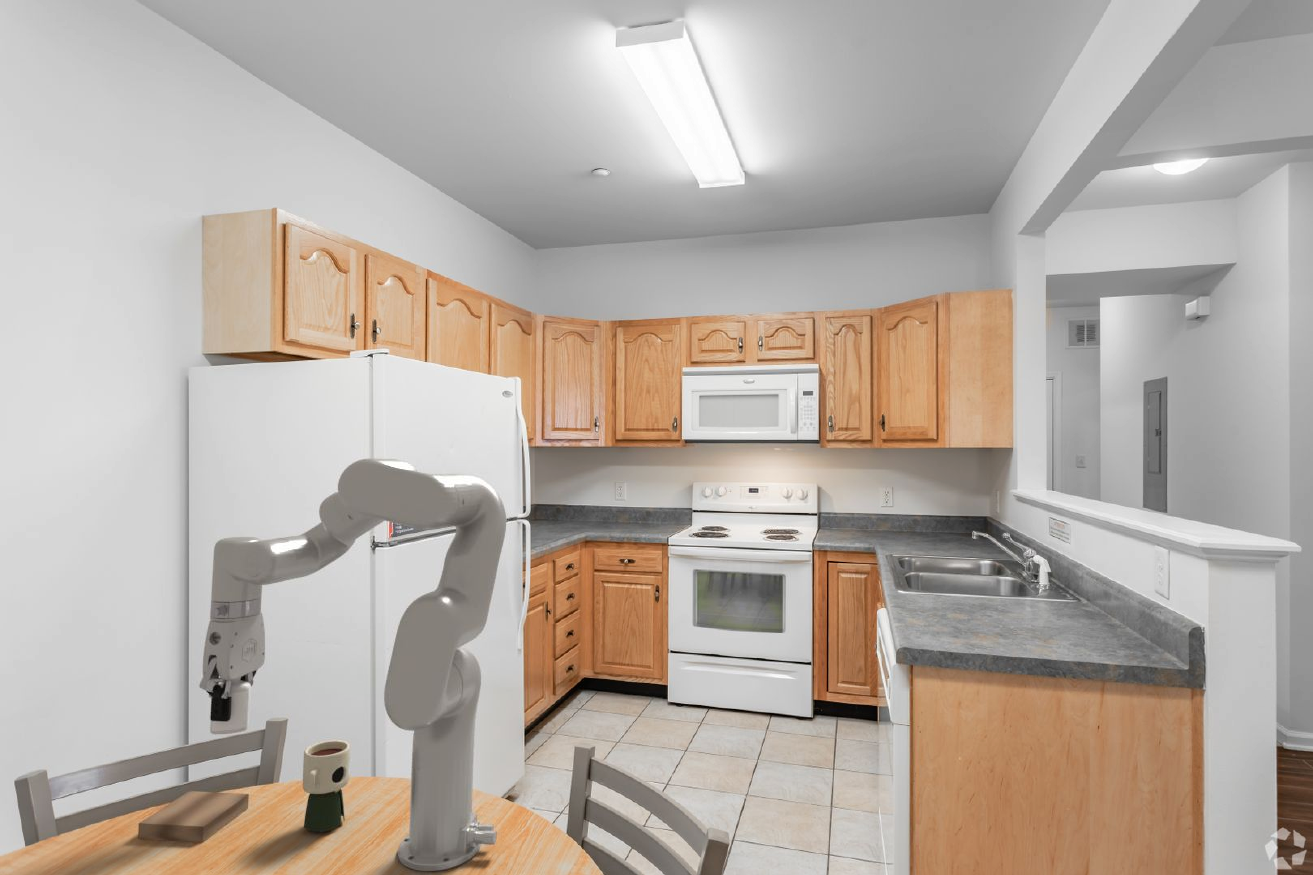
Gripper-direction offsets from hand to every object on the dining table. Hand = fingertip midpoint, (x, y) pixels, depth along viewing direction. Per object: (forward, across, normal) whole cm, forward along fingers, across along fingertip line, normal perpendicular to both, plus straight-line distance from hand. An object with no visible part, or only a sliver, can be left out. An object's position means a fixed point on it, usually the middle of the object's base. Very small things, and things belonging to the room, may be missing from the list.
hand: (230, 714), depth 117 cm
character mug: (+18, -1, -18) cm, 25 cm away
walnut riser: (+18, -2, +4) cm, 18 cm away
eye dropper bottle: (+3, 0, 0) cm, 3 cm away
